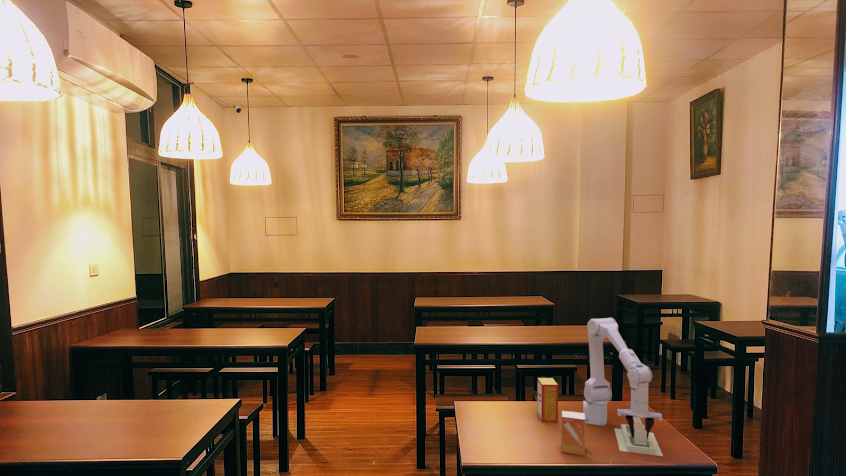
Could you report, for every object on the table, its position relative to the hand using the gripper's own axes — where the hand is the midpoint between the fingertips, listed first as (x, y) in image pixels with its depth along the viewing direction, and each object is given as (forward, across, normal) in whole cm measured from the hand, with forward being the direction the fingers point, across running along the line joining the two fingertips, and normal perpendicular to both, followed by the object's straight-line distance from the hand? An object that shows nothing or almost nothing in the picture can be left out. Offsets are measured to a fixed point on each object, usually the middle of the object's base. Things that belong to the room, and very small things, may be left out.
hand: (639, 437), depth 171 cm
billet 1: (+4, 0, +10) cm, 11 cm away
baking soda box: (+5, -33, +20) cm, 39 cm away
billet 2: (+2, 0, 0) cm, 2 cm away
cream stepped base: (+4, 0, +5) cm, 7 cm away
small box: (+5, -23, -8) cm, 25 cm away
